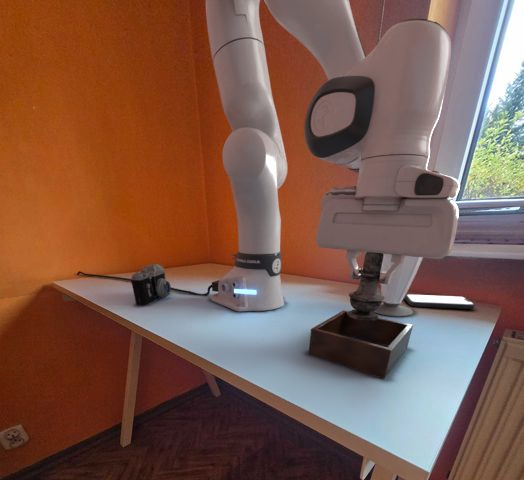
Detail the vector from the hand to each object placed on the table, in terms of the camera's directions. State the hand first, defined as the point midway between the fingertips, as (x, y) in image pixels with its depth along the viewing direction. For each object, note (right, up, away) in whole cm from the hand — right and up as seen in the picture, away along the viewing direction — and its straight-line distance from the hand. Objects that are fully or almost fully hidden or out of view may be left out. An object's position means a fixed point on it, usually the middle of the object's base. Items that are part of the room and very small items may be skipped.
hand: (369, 281), depth 46 cm
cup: (+17, -1, +28) cm, 33 cm away
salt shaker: (0, -6, +3) cm, 6 cm away
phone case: (+32, +1, +33) cm, 46 cm away
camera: (-50, +4, +37) cm, 62 cm away
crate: (0, -12, +5) cm, 13 cm away
